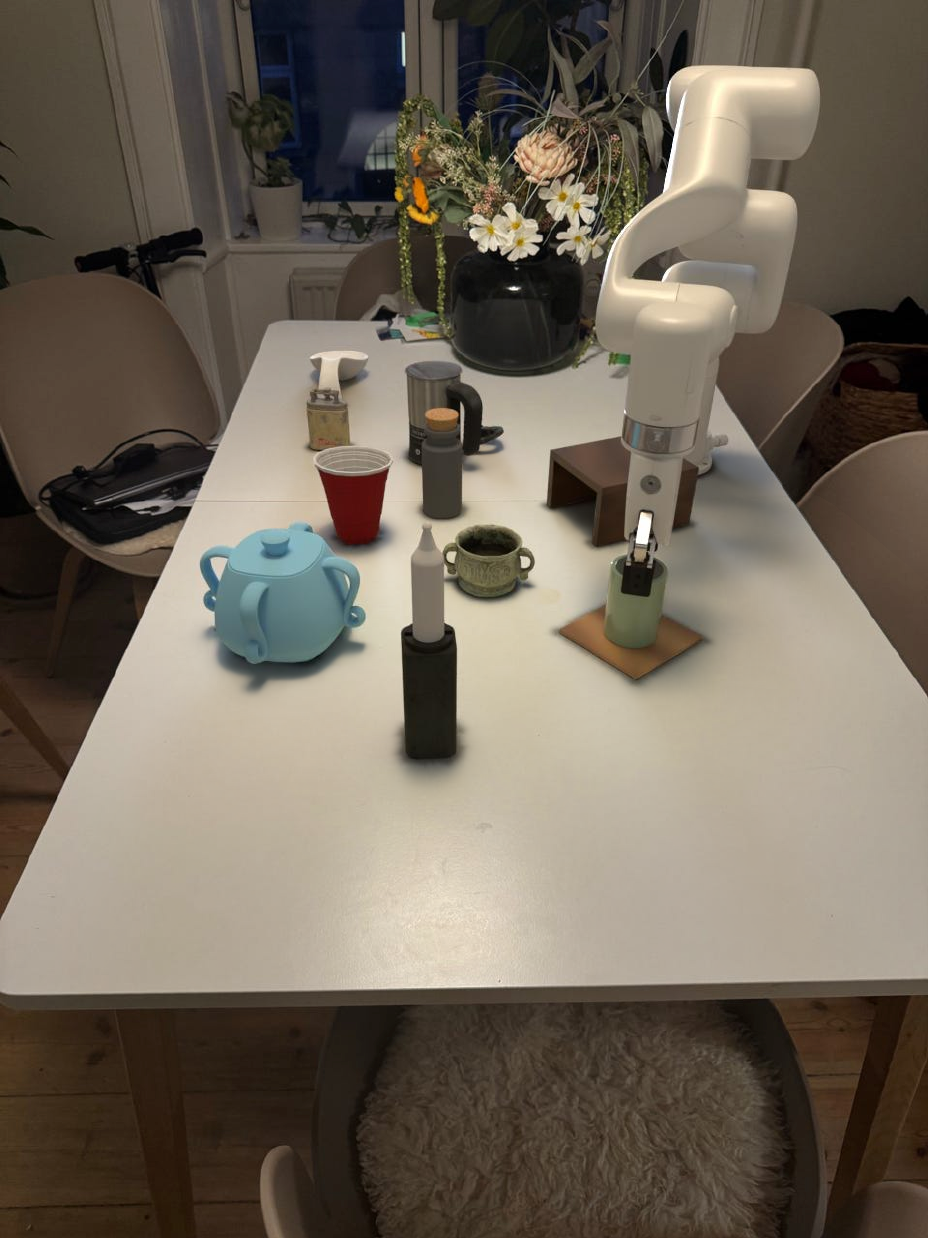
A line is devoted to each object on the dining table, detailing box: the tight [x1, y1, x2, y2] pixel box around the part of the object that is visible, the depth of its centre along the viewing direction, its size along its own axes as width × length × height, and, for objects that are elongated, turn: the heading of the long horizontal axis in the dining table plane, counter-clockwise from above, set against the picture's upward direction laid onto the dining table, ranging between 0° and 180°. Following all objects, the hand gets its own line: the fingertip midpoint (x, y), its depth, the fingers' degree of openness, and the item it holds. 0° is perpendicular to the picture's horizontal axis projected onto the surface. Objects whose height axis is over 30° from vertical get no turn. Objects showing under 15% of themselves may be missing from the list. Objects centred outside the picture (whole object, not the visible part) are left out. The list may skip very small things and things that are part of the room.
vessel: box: [441, 524, 536, 598], centre depth 113 cm, size 12×9×6 cm
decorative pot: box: [199, 521, 367, 665], centre depth 100 cm, size 16×16×14 cm
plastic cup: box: [312, 445, 394, 546], centre depth 121 cm, size 11×11×12 cm
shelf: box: [546, 435, 699, 547], centre depth 128 cm, size 16×14×9 cm
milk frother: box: [404, 360, 505, 465], centre depth 145 cm, size 14×16×15 cm
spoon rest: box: [309, 350, 369, 399], centre depth 173 cm, size 24×12×7 cm, turn 1°
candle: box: [400, 521, 458, 760], centre depth 82 cm, size 5×5×25 cm
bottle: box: [421, 408, 463, 520], centre depth 127 cm, size 6×6×15 cm
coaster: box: [558, 604, 703, 681], centre depth 105 cm, size 12×12×1 cm
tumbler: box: [603, 553, 669, 648], centre depth 102 cm, size 6×6×9 cm
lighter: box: [306, 387, 352, 451], centre depth 147 cm, size 7×4×10 cm, turn 82°
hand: (639, 570), depth 100 cm, fingers open, 9 cm apart
